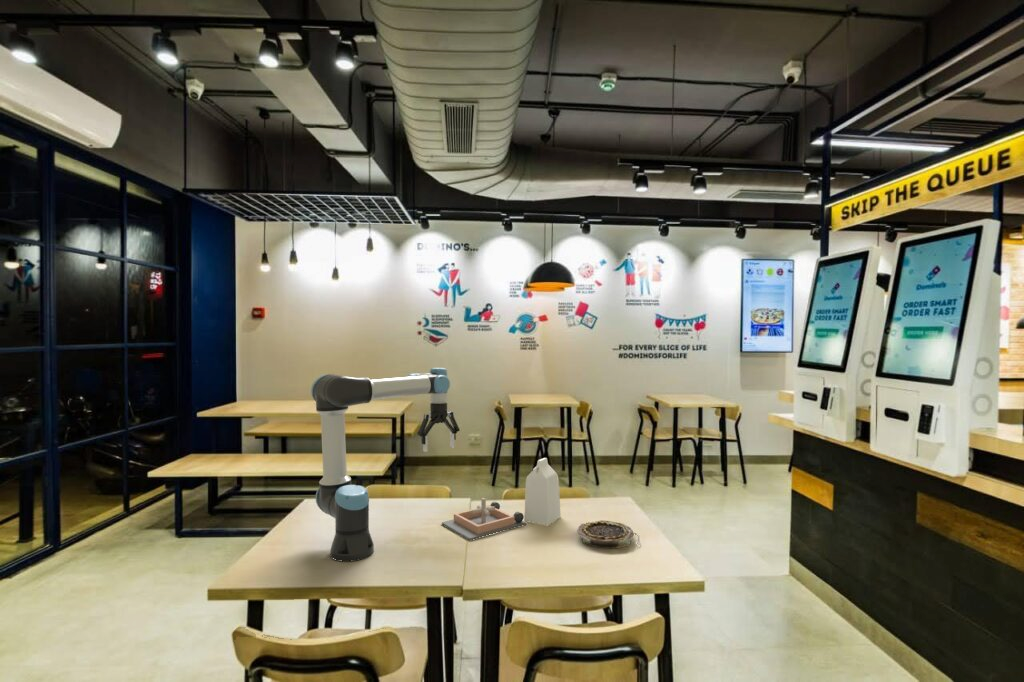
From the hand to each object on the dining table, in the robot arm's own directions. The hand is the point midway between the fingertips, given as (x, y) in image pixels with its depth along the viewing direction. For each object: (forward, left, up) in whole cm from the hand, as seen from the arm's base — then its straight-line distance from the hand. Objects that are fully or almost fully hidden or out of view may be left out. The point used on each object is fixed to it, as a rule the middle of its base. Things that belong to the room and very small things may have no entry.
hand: (438, 449), depth 227 cm
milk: (+32, -34, -29) cm, 55 cm away
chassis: (+8, -24, -29) cm, 38 cm away
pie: (+37, -65, -29) cm, 81 cm away
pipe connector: (+8, -24, -28) cm, 38 cm away
